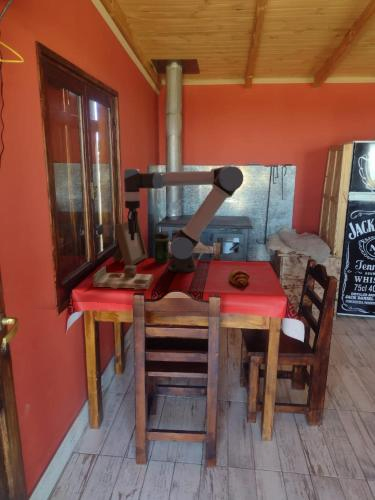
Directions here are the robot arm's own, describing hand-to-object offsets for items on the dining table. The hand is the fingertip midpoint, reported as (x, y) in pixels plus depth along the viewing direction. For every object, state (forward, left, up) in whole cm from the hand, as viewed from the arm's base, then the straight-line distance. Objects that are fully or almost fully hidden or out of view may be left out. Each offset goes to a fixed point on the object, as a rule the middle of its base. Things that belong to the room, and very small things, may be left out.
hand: (133, 245), depth 186 cm
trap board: (+2, +12, -16) cm, 21 cm away
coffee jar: (-10, -30, -17) cm, 35 cm away
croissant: (-55, +3, -17) cm, 58 cm away
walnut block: (0, +8, -14) cm, 16 cm away
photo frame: (+10, -28, -17) cm, 34 cm away
